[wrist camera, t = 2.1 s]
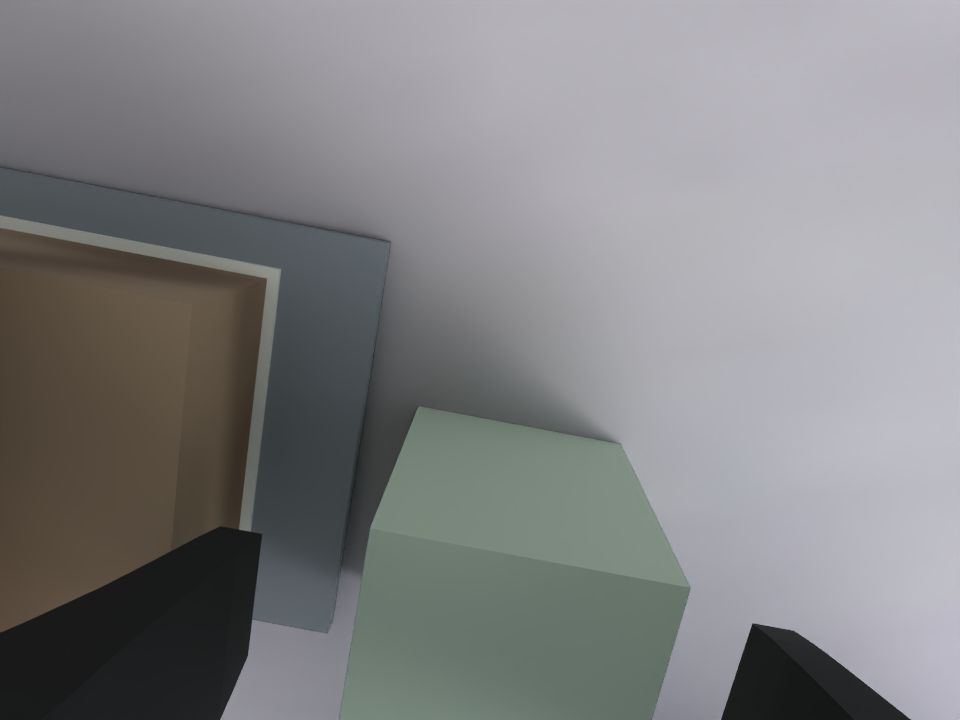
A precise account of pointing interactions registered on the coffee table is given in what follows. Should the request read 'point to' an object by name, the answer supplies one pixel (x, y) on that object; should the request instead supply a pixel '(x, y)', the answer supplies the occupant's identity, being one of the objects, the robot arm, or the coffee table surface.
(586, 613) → the sage block
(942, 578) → the coffee table surface
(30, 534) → the walnut block
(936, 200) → the coffee table surface
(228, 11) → the coffee table surface
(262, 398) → the mat
